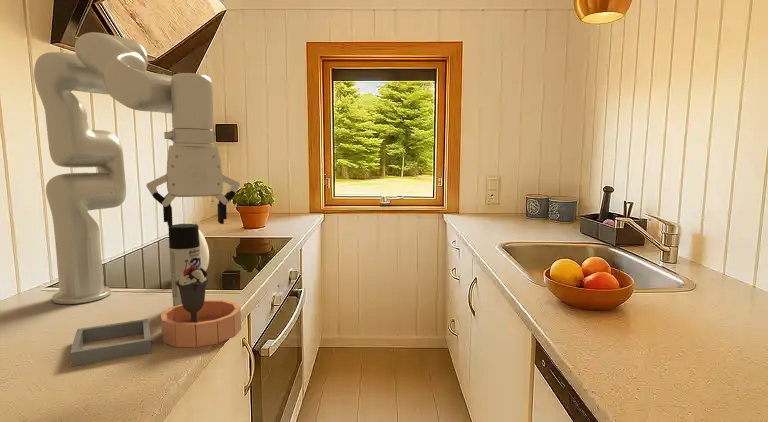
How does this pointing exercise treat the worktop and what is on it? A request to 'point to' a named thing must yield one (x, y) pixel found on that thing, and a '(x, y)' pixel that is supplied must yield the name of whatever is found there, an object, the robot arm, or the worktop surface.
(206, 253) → the sauce bottle
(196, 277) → the sundae
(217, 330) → the bowl
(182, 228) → the spray can
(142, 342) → the gray square frame
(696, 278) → the worktop surface
